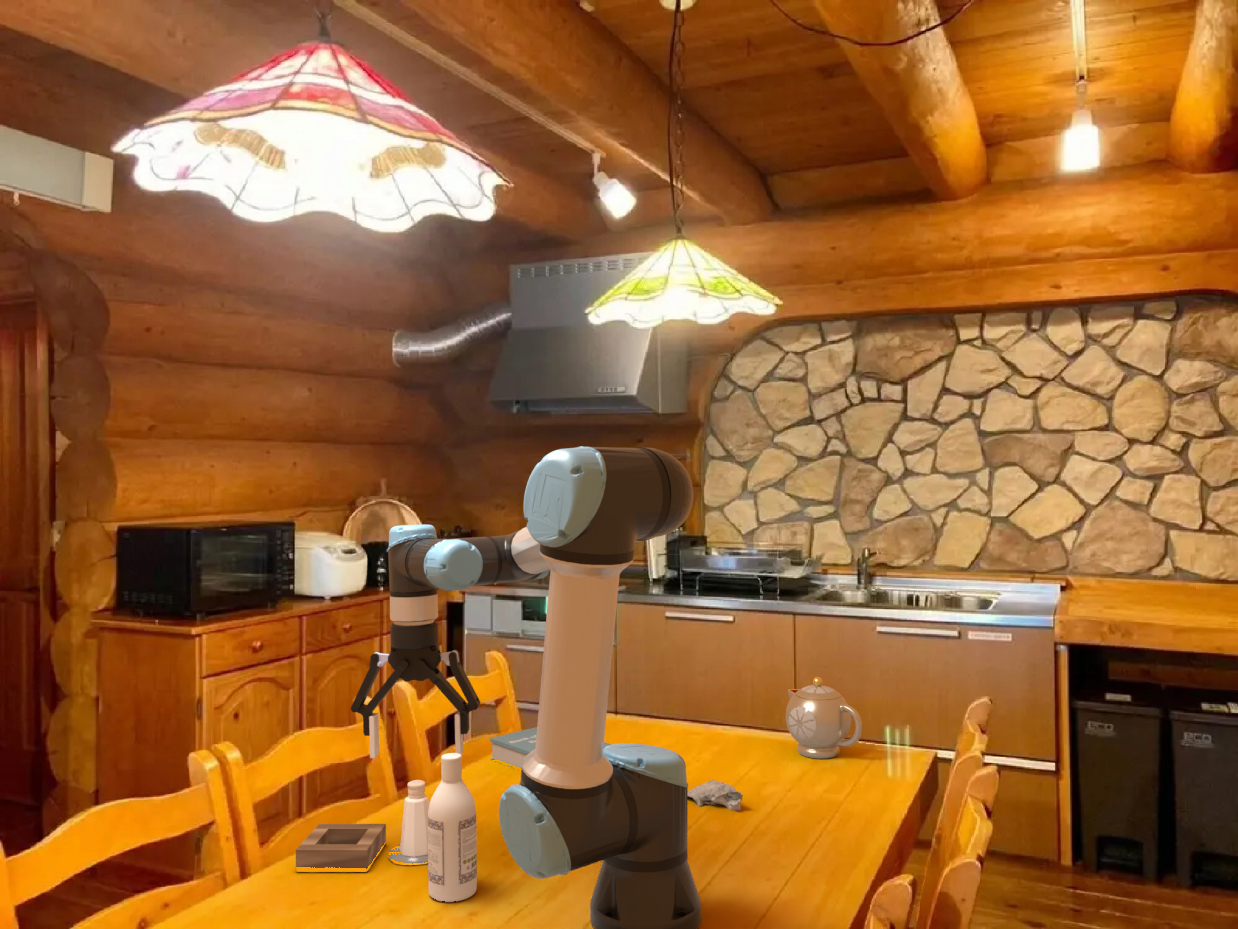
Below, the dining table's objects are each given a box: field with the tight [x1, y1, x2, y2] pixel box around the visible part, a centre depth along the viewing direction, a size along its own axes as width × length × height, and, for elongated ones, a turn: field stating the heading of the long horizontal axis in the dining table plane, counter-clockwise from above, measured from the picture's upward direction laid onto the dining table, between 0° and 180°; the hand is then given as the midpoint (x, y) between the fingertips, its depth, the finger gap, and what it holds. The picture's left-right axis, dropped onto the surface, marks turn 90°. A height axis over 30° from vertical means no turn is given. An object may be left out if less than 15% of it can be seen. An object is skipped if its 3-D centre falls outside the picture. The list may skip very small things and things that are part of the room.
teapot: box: [785, 676, 863, 760], centre depth 209 cm, size 18×14×16 cm
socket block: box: [295, 823, 387, 869], centre depth 157 cm, size 11×11×4 cm
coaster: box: [387, 843, 428, 864], centre depth 158 cm, size 9×9×1 cm
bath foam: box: [427, 752, 478, 903], centre depth 144 cm, size 7×7×20 cm
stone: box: [688, 779, 744, 811], centre depth 180 cm, size 6×12×4 cm, turn 28°
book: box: [489, 726, 613, 769], centre depth 205 cm, size 23×16×5 cm
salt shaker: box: [399, 779, 430, 857], centre depth 158 cm, size 5×5×11 cm
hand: (417, 755), depth 157 cm, fingers open, 13 cm apart
